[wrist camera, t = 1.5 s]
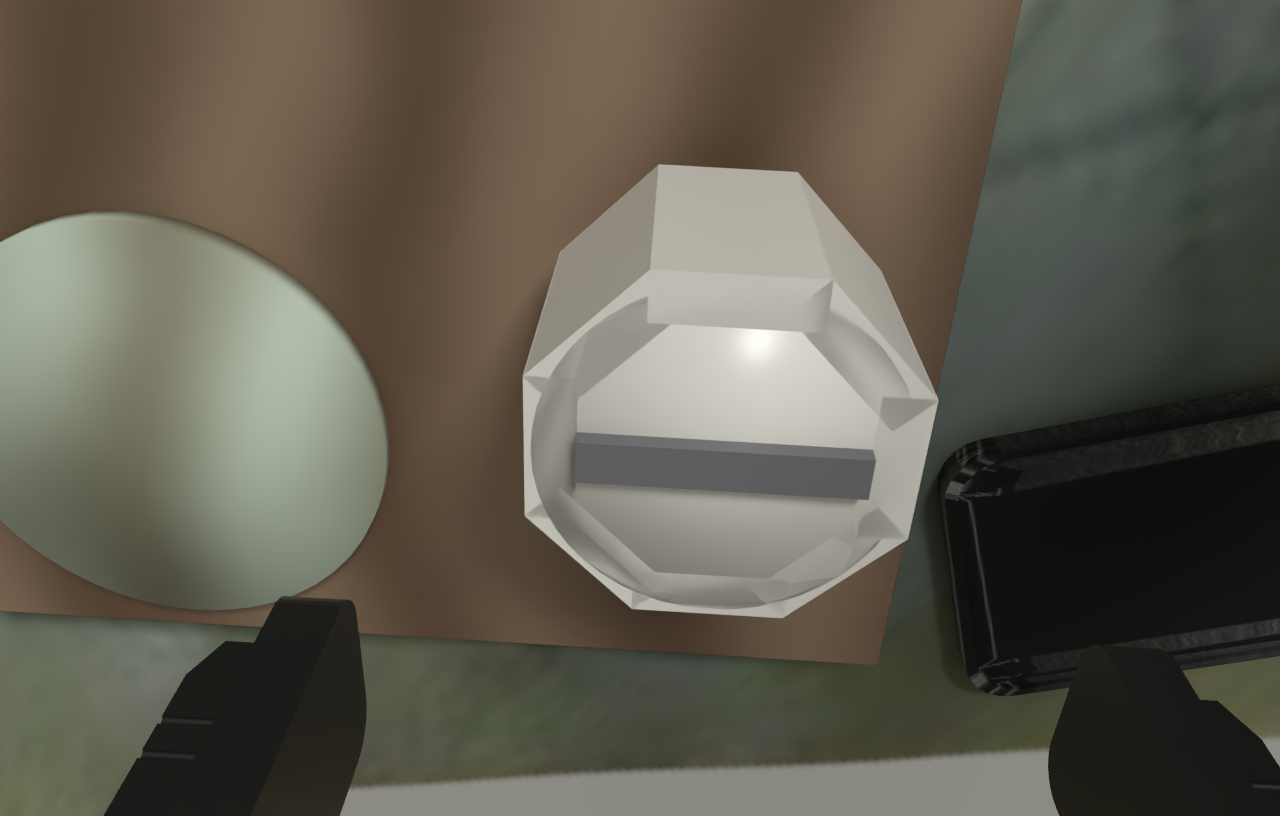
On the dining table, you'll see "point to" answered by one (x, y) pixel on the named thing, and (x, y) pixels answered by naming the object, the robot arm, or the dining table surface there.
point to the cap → (722, 398)
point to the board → (407, 281)
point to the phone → (1117, 540)
